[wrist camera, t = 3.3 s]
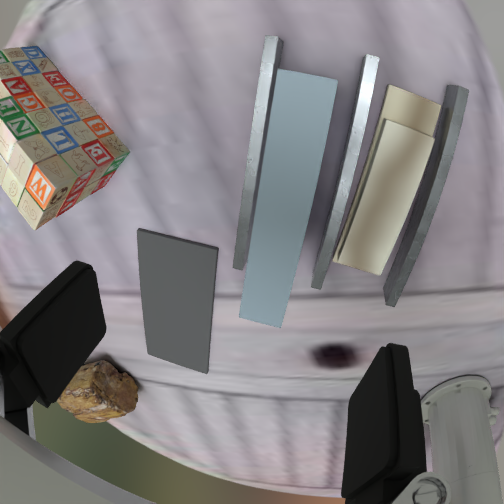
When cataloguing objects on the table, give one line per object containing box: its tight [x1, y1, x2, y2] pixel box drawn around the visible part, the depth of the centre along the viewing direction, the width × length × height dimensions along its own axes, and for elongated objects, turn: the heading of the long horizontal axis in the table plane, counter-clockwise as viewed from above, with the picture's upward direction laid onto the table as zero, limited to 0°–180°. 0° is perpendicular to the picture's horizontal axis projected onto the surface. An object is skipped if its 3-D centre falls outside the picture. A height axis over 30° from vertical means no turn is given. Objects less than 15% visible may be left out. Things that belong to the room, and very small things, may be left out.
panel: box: [239, 69, 338, 328], centre depth 24 cm, size 3×16×13 cm, turn 172°
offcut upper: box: [338, 118, 435, 275], centre depth 27 cm, size 4×14×2 cm, turn 168°
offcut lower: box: [332, 85, 441, 275], centre depth 28 cm, size 5×18×2 cm, turn 169°
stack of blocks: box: [0, 46, 130, 230], centre depth 26 cm, size 21×6×12 cm, turn 43°
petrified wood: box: [57, 361, 138, 423], centre depth 54 cm, size 19×13×10 cm
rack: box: [233, 35, 469, 307], centre depth 27 cm, size 17×22×3 cm
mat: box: [137, 228, 218, 374], centre depth 42 cm, size 10×22×1 cm, turn 172°
